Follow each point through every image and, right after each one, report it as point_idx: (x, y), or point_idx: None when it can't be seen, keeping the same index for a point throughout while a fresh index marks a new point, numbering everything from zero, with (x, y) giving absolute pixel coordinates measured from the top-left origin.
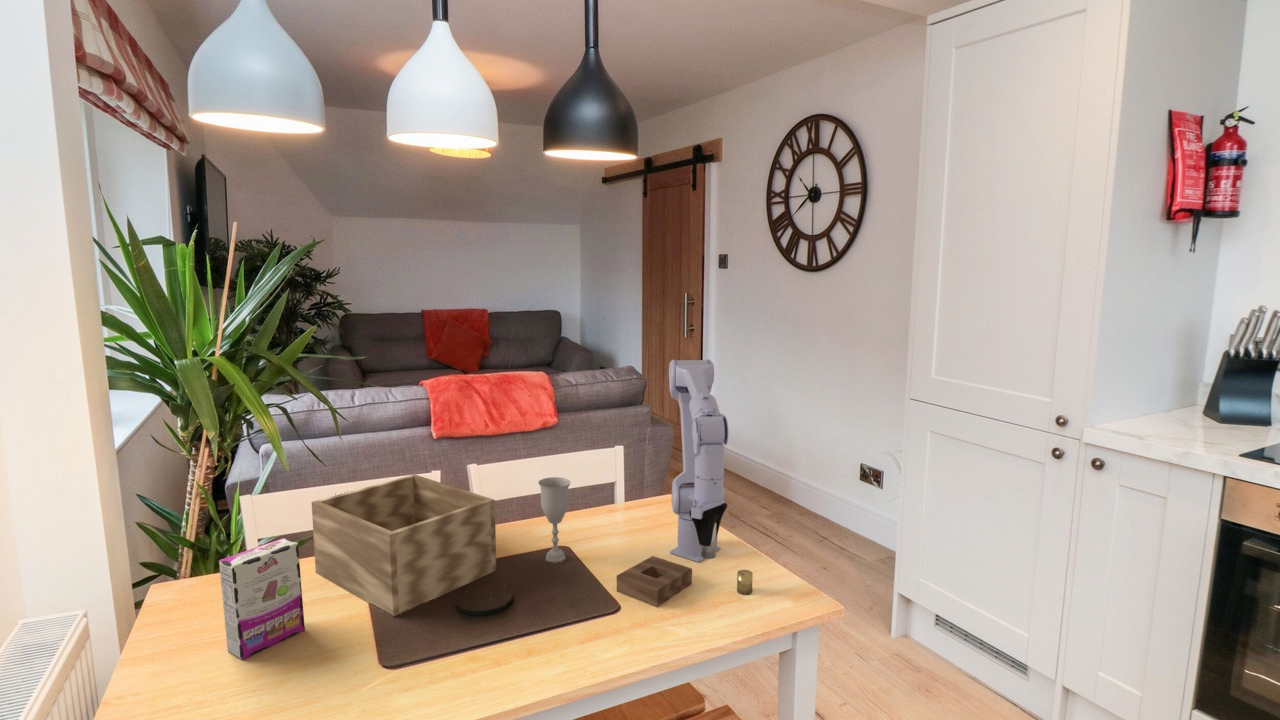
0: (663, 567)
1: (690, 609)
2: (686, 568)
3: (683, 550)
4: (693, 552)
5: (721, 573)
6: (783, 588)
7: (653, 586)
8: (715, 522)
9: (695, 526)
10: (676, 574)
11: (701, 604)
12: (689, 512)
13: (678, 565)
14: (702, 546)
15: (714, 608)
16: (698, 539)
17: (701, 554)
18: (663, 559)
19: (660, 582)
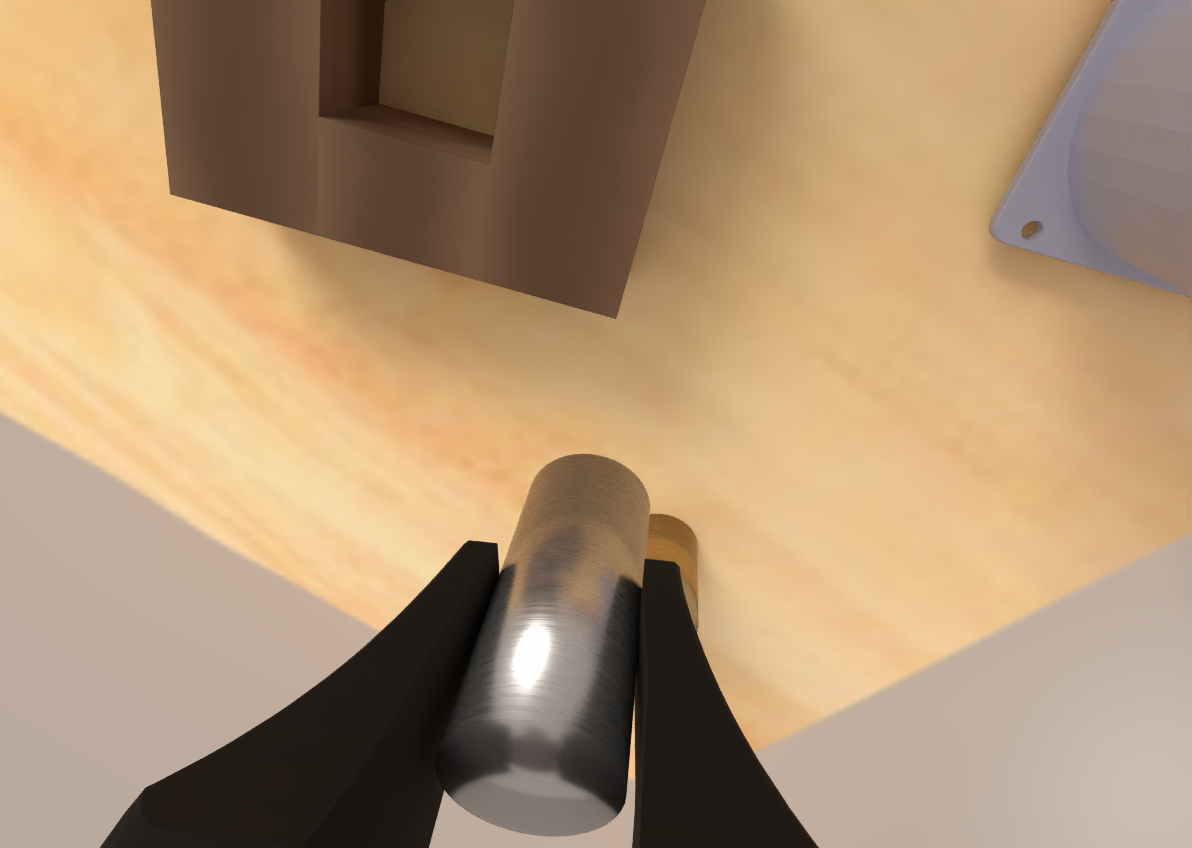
0: (535, 84)
1: (349, 353)
2: (601, 279)
3: (1131, 64)
4: (1090, 176)
5: (856, 404)
6: (759, 672)
7: (194, 143)
8: (556, 831)
9: (327, 680)
10: (466, 241)
11: (429, 390)
12: (112, 844)
13: (625, 202)
14: (518, 534)
15: (426, 454)
16: (443, 568)
17: (542, 476)
18: (701, 8)
19: (281, 170)
